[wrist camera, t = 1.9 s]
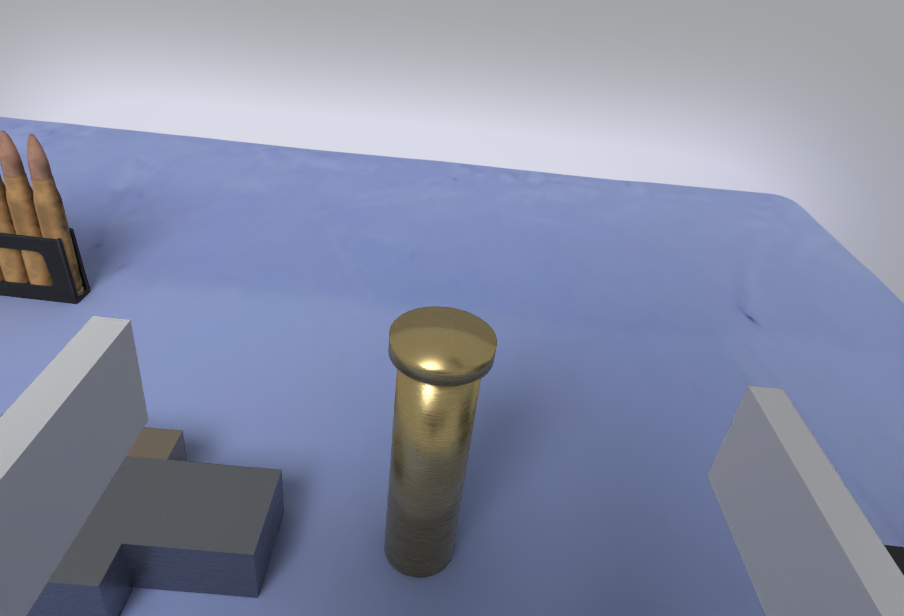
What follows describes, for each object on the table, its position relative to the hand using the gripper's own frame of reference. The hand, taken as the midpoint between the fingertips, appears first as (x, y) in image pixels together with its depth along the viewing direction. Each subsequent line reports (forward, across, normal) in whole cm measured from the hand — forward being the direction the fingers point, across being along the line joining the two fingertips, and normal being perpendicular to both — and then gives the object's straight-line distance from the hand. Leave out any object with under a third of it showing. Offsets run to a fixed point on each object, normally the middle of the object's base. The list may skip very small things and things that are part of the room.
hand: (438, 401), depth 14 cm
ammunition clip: (+29, -31, -18) cm, 46 cm away
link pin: (+10, 0, -18) cm, 20 cm away
